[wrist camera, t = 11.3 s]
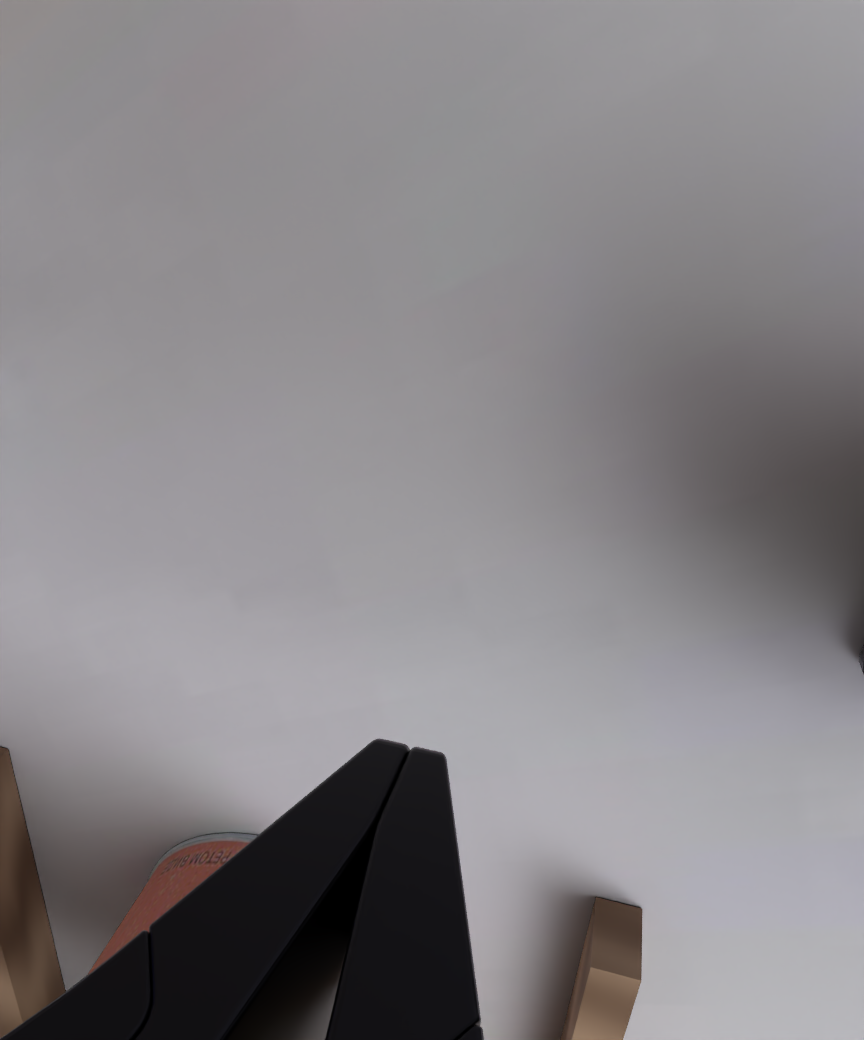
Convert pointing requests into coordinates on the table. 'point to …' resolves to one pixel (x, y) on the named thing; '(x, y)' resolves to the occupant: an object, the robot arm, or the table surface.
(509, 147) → the table surface
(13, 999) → the display stand
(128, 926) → the canned food
